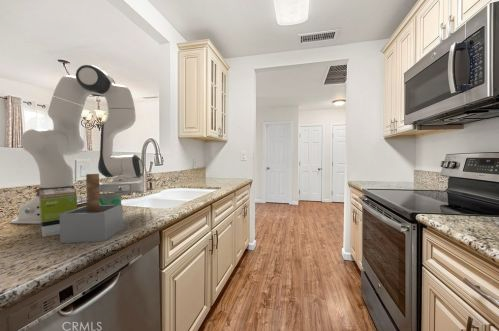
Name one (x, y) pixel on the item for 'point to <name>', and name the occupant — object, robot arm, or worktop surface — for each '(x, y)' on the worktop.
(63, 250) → the worktop surface
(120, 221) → the gray open-top rectangular bin
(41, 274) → the worktop surface
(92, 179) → the brown wooden post
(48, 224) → the tea box
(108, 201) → the food container
